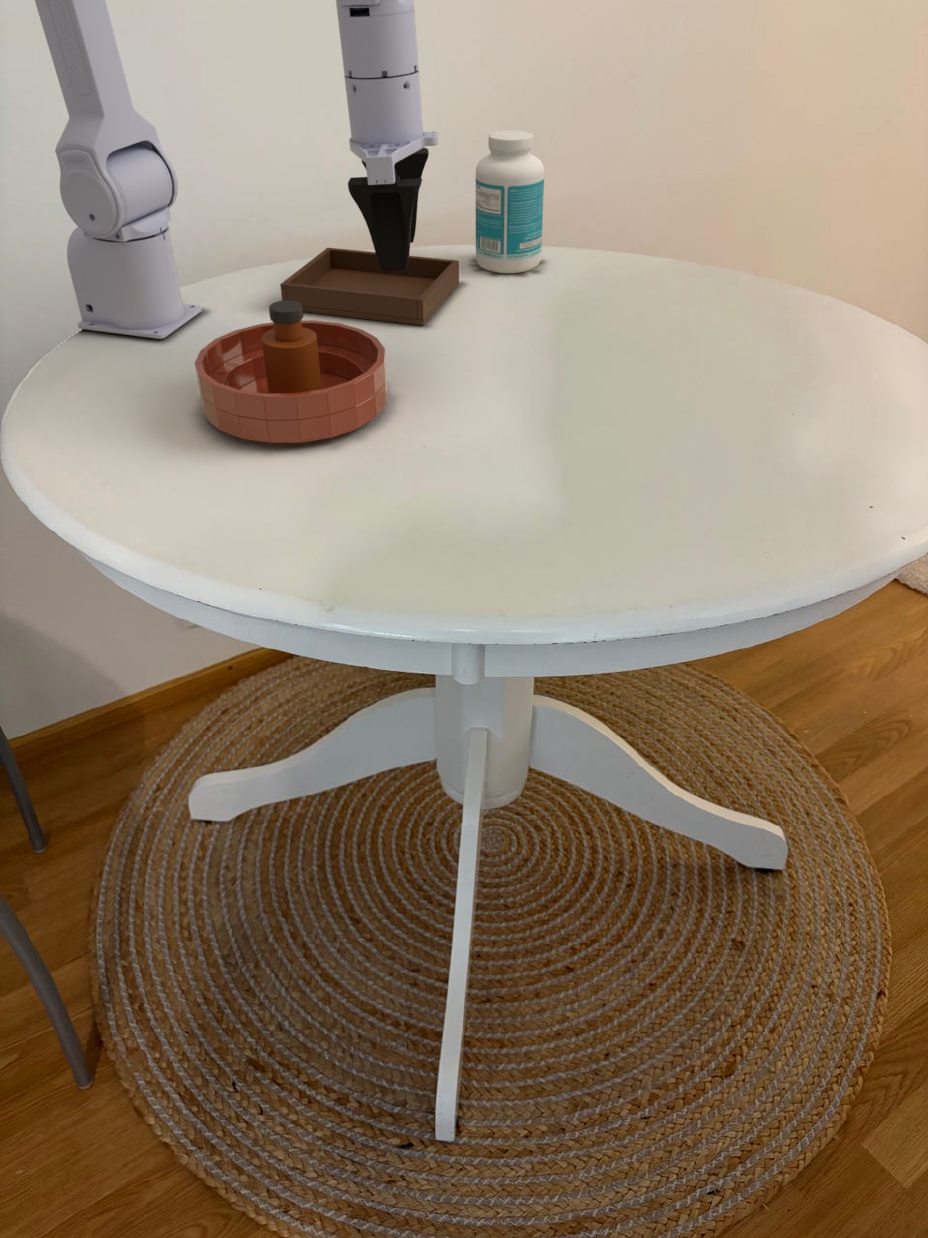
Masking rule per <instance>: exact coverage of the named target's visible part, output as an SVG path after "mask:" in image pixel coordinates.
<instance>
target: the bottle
mask: <svg viewBox="0 0 928 1238" xmlns="http://www.w3.org/2000/svg"><path fill="white" fill-rule="evenodd" d="M268 312H269V319H270V321H271V322H273V324H274V329H273V330H270V331H268V332H266V333H265V334H264V335H263V336H262V338H261V340H262V348H263V355H264V363H265V370H266V377H267V385H268V392H269V394H276V393H301V392H308V391H314V390H321V389H322V386H321V376H320V366H319V355H318V345H317V335H316V333H315V332H314V331H313V330H311V329H308V328H304V327H302V324H301V320H303V319H304V312H303V309H302V304H301V303H299V302H297V301H292V300H283V301H282V300H278V301H274V302H272V303H270V305H269V306H268Z"/></svg>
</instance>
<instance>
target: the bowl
mask: <svg viewBox="0 0 928 1238" xmlns="http://www.w3.org/2000/svg"><path fill="white" fill-rule="evenodd" d="M301 324H302V327H304V328H308V329H311V330H313V331H314V332H315V333H316V335H317V345H318V355H319V366H320V376H321V386H322V389H321V390H314V391H308V392H301V393H276V394H269V392H268V385H267V377H266V370H265V363H264V355H263V348H262V340H261V338H262V336H263V335H264V334H265V333H266V332H268V331H270V330H273V329H274V324H273V321H271V322H265V323H260V324H255V325H251V326H247V327H242V328H239V329H236V330H233V331H230V332H228V333H226V334H224V335H222V336H219V337H216V338H215V339H213V340H212V341H210V343H208V344H207V345H206V346H204V347H203V348H202V349H201V350H199V352H198V354H197V357H196V358H195V361H194V367H195V374H196V378H197V384H198V389H199V395H200V399H201V406H202V410H203V413H204V416H205V418H206V420H207V421H208V422H210V424H211V425H213V426H214V427H215V428H216V429H218V430H219V431H220V432H223V433H226V434H227V435H230V436H234V437H236V438H238V439H242V440H249V441H256V442H262V443H270V444H280V443H281V444H283V443H284V444H285V443H286V444H288V443H296V444H297V443H307V442H314V441H320V440H326V439H331V438H334V437H338V436H340V435H343V434H347V433H349V432H352V431H355V430H357V429H359V428H361V427H363V426H364V425H366V424H367V423H369V422H371V421H372V420H374V419H376V418H377V417H378V416H379V414H380V413H381V412H382V411H383V410H384V408H385V407H386V405H387V401H388V378H387V377H388V376H387V375H388V374H387V358H386V348H385V347H384V345H383V344H382V343H381V342H380V340H379V338H378V337H376V336H374V335H373V334H371V333H369V332H367V331H366V330H364V329H361V328H358V327H355V326H351V325H348V324H344V323H341V322H331V321H324V320H315V319H312V320H311V319H310V320H308V319H307V320H305V319H304V320H303V319H302V320H301Z"/></svg>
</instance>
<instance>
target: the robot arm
mask: <svg viewBox="0 0 928 1238" xmlns="http://www.w3.org/2000/svg"><path fill="white" fill-rule="evenodd" d="M34 2H35V6H36V9H37V10H36V11H37V13H38V16H39V20H40V23H41V26H42V30H43V33H44V36H45V39H46V44H47V47H48V50H49V53H50V57H51V61H52V63H53V66H54V70H55V73H56V77H57V81H58V83H59V87H60V89H61V94H62V97H63V100H64V103H65V108H66V110H67V115H68V121H67V123H66V125H65V126H64V129H63V131H62V133H61V135H60V138H59V140H58V142H57V143H56V146H55V149H54V150H55V151H54V152H55V155H56V158H57V162H58V165H59V172H60V174H59V175H60V176H59V193H60V198H61V201H62V204H63V207H64V209H65V211H66V213H67V214H68V216H69V217H70V219H71V220H72V222H73V223H74V224H75V225H76V226H77V227H75V229H74V230H73V231H72V232H71V234H70V236H69V238H68V241H67V247H66V260H67V265H68V270H69V273H70V278H71V281H72V285H73V289H74V293H75V297H76V301H77V306H78V309H79V314H80V318H81V321H80V322H78V323H77V326H78V327H77V328H78V329H81V330H88V331H94V332H95V331H96V332H102V333H109V334H110V333H111V334H118V335H125V336H134V337H141V338H148V339H149V338H150V339H157V340H163V339H165V338H167V337H168V336H170V335H171V334H172V333H173V332H175V331H176V330H178V329H179V328H180V327H182V326H183V325H184V324H186V323H188V322H189V321H190V320H192V319H194V317H196V316H197V315H199V314H200V313H201V312H202V311H203V308H202V306H201V305H197V304H188V303H184V302H183V296H182V291H181V286H180V280H179V274H178V270H177V265H176V264H177V263H176V258H175V255H174V254H175V253H174V248H173V243H172V237H171V236H172V235H171V232H170V231H171V230H170V227H169V222H170V221H172V217H171V211H170V209H171V207H173V205H174V204H175V202H176V200H177V197H178V192H179V182H178V177H177V174H176V171H175V168H174V165H173V164H172V162H171V160H170V159H169V157H168V156H167V154H166V153H165V151H164V148H163V147H162V145H161V142H160V139H159V135H158V131H157V128H156V127H155V126H154V125H153V123H151V122H150V121H149V120H148V119H146V118H145V117H144V116H143V115H141V114H140V113H139V112H138V111H137V110H136V109H135V108H134V105H133V102H132V98H131V93H130V90H129V87H128V83H127V79H126V75H125V70H124V67H123V63H122V60H121V56H120V51H119V47H118V44H117V40H116V37H115V33H114V29H113V23H112V21H111V17H110V14H109V9H108V5H107V2H106V0H34ZM335 3H336V4H335V5H336V13H337V21H338V31H339V39H340V48H341V56H342V66H343V74H344V75H343V77H344V84H345V85H344V86H345V93H346V94H345V95H346V102H347V103H346V104H347V109H348V119H349V120H348V121H349V129H350V136H351V137H350V138H349V140H348V143H349V150H350V151H351V152H352V153H353V154H354V155H355V156H356V157H358V158H359V160H361V164H362V165H363V167H364V168H365V170H366V176H359V177H358V176H357V177H350V178H349V180H348V182H347V189H348V192H349V194H350V197H351V198H352V200H353V201H354V203H355V204H356V205H357V207H358V209H359V211H360V213H361V215H362V218H363V219H364V221H365V223H366V226H367V229H368V232H369V236H370V239H371V242H372V245H373V248H374V252H376V256H377V259H378V262H379V264H380V267H381V269H382V271H404V270H407V266H408V261H409V256H410V253H411V252H410V251H411V244H412V243H414V241H415V235H416V230H417V229H416V228H417V219H418V218H417V217H418V203H419V193H420V188H421V185H422V183H423V178H422V177H423V173H424V170H425V167H426V163H427V161H428V159H429V155H430V152H429V148H427V147H434V146H437V145H439V141H440V140H439V132H437V131H424V124H423V109H422V97H421V83H420V66H419V53H418V40H417V39H418V38H417V25H416V12H415V11H416V10H415V0H335Z"/></svg>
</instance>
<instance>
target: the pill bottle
mask: <svg viewBox="0 0 928 1238" xmlns="http://www.w3.org/2000/svg"><path fill="white" fill-rule="evenodd" d="M487 145H488V150H489V151H490V153H489V154H488V155H485V156H484V157H482V158H481V159H480V160H479V161H478V162H477V165H476V167H475V260H476V263H477V264H478V265H479V267H481V268H482V269H484V270H486V271H489V272H494V273H499V274H500V273H501V274H517V273H518V274H519V273H524V272H528V271H531V270H532V269H535V268H536V267H537V266H538V265H539V264H540V262H541V260H542V248H543V245H542V243H543V242H542V241H543V221H544V220H543V219H544V193H545V192H544V190H545V189H544V188H545V166H544V164H543V162H542V161H541V159H540V158H539V157H537V156H535V155H533V154H531V151H532V149H533V147H534V135H533V133H532V132H530V131H525V130H517V129H515V130H514V129H507V130H504V129H503V130H497V131H493V132H491V133H489V134H488V143H487Z"/></svg>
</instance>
